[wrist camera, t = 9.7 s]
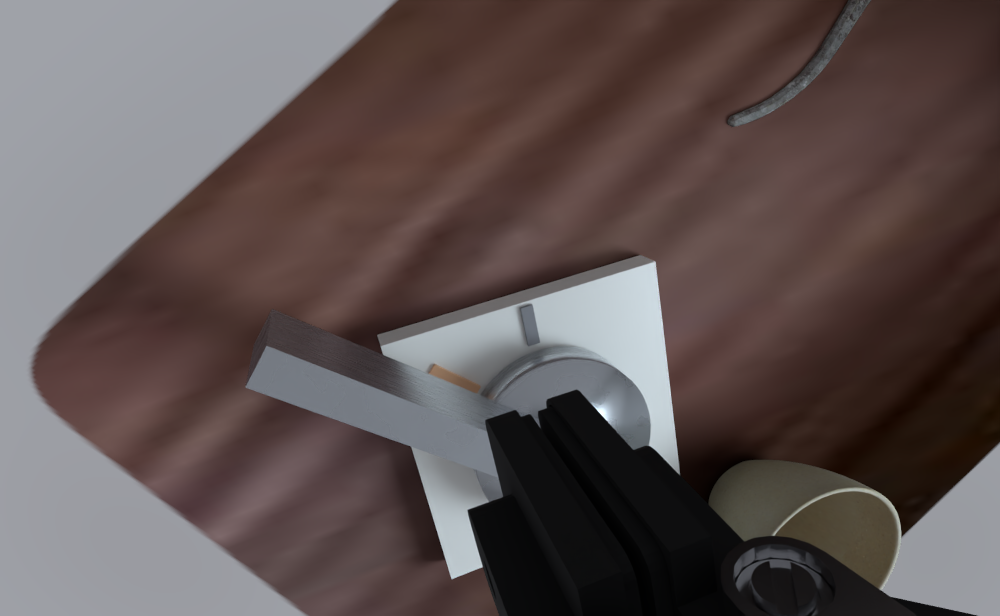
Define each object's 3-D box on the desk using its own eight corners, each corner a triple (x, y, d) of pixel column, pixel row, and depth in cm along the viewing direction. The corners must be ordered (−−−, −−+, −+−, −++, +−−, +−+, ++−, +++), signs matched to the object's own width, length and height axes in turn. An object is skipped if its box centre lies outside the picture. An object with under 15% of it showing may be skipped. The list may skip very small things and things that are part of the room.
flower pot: (808, 404, 39) (909, 465, 32) (803, 531, 43) (894, 609, 36) (667, 450, 37) (746, 525, 30) (675, 580, 40) (747, 672, 34)
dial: (661, 385, 33) (738, 445, 27) (576, 524, 34) (632, 610, 28) (314, 215, 25) (317, 248, 19) (219, 402, 26) (196, 487, 20)
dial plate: (640, 254, 32) (657, 262, 31) (667, 473, 37) (683, 489, 36) (377, 334, 29) (381, 347, 28) (445, 560, 34) (452, 581, 33)
